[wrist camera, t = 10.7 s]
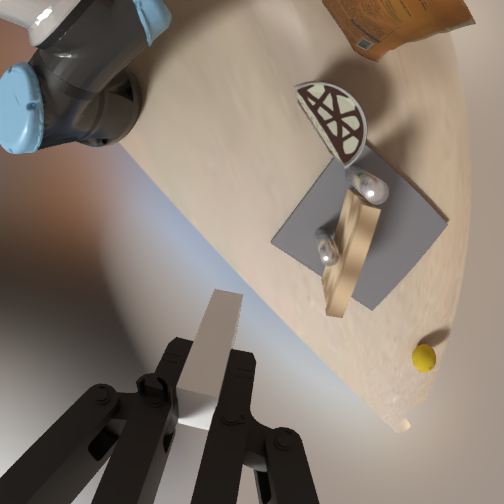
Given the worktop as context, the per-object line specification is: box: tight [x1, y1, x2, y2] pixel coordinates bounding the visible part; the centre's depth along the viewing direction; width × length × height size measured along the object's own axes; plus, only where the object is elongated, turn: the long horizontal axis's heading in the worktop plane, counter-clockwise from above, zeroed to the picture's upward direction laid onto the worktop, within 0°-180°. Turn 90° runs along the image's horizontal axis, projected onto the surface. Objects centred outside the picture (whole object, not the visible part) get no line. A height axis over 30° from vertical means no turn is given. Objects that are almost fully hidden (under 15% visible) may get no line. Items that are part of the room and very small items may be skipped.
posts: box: [315, 165, 389, 266], centre depth 38 cm, size 3×14×13 cm, turn 157°
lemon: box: [412, 344, 436, 372], centre depth 51 cm, size 6×6×8 cm
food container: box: [293, 81, 367, 169], centre depth 34 cm, size 12×6×10 cm, turn 34°
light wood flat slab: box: [321, 188, 381, 318], centre depth 39 cm, size 16×2×10 cm, turn 171°
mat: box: [271, 145, 448, 311], centre depth 45 cm, size 24×22×1 cm
